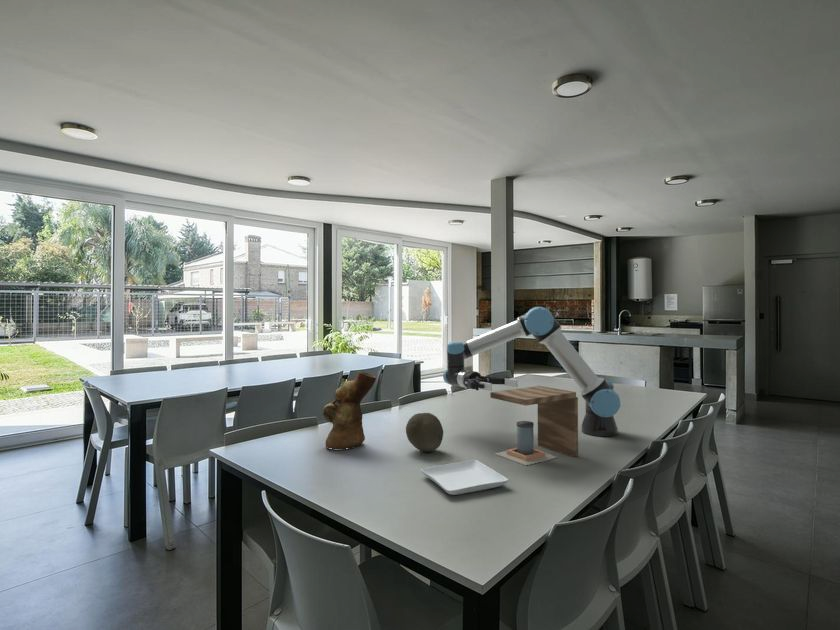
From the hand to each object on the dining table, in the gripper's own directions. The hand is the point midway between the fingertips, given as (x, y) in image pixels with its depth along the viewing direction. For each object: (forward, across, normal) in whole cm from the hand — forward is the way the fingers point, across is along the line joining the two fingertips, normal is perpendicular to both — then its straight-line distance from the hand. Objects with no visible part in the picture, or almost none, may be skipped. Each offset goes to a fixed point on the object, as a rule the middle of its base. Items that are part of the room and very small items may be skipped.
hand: (504, 385), depth 184 cm
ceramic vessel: (-40, +48, -24) cm, 67 cm away
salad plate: (+19, +36, -26) cm, 48 cm away
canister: (+11, 0, -25) cm, 27 cm away
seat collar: (+11, 0, -25) cm, 27 cm away
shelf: (+13, -2, -25) cm, 28 cm away
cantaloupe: (-15, +28, -25) cm, 40 cm away
